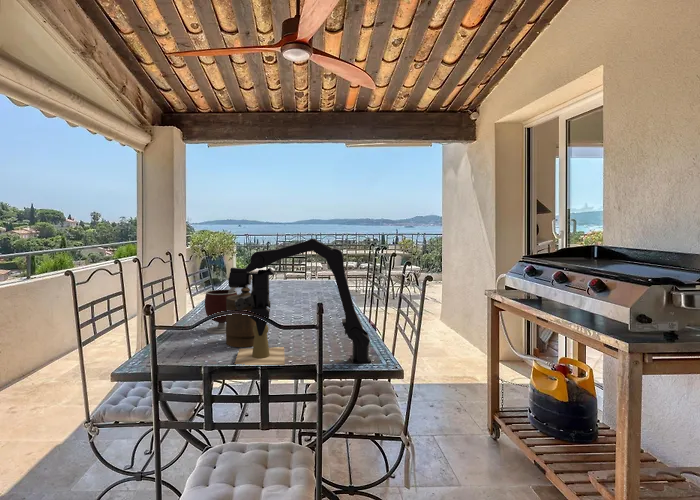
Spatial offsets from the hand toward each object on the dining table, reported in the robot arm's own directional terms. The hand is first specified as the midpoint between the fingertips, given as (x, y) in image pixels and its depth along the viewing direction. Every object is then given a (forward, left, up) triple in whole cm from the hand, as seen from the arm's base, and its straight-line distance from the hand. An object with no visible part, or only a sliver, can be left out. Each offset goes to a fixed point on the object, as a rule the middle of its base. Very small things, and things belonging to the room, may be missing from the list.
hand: (260, 332), depth 143 cm
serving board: (0, 0, -10) cm, 10 cm away
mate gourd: (+43, +18, -10) cm, 48 cm away
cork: (0, 0, -8) cm, 8 cm away
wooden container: (+23, +7, -10) cm, 26 cm away
